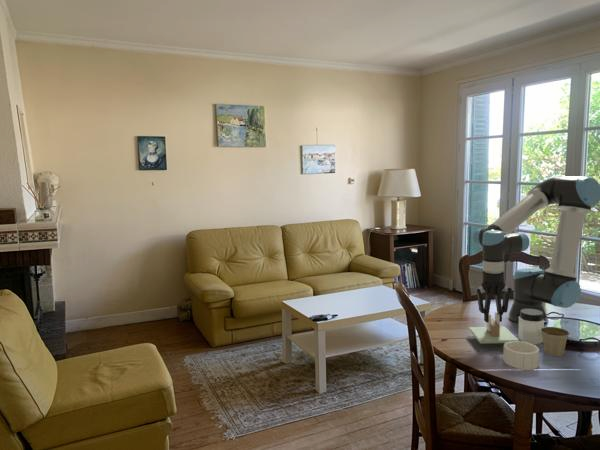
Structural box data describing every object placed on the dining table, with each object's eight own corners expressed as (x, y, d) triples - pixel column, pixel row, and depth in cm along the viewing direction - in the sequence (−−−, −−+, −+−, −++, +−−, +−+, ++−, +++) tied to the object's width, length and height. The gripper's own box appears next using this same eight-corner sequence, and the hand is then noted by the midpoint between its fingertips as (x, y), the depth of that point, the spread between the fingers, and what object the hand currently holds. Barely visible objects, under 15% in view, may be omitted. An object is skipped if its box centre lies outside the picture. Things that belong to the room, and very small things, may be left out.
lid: (504, 328, 179) (504, 315, 179) (518, 342, 166) (519, 328, 165) (469, 329, 181) (469, 316, 180) (480, 343, 167) (480, 329, 166)
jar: (532, 346, 170) (533, 316, 168) (514, 339, 177) (514, 310, 175) (547, 342, 173) (548, 312, 172) (529, 335, 181) (530, 307, 179)
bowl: (530, 356, 161) (530, 340, 161) (544, 370, 150) (545, 353, 150) (499, 356, 162) (499, 341, 161) (511, 370, 151) (511, 353, 150)
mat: (504, 336, 180) (504, 335, 180) (519, 352, 165) (519, 350, 165) (466, 337, 181) (466, 336, 181) (478, 352, 167) (478, 351, 166)
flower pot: (533, 349, 167) (534, 327, 166) (557, 347, 168) (558, 325, 167) (549, 360, 158) (550, 336, 157) (574, 358, 159) (575, 334, 158)
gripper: (510, 267, 173) (509, 325, 176) (469, 269, 174) (469, 326, 177) (518, 272, 165) (517, 332, 168) (475, 274, 166) (475, 333, 170)
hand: (492, 329), depth 173 cm, fingers closed on lid, 2 cm apart
